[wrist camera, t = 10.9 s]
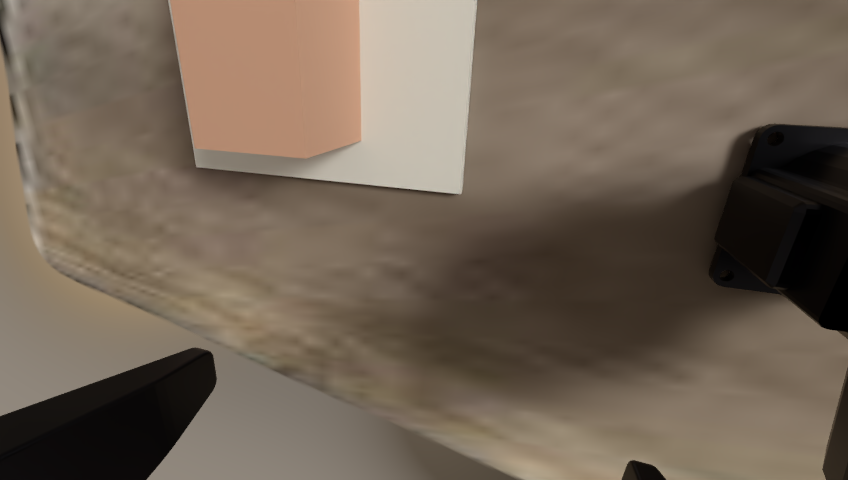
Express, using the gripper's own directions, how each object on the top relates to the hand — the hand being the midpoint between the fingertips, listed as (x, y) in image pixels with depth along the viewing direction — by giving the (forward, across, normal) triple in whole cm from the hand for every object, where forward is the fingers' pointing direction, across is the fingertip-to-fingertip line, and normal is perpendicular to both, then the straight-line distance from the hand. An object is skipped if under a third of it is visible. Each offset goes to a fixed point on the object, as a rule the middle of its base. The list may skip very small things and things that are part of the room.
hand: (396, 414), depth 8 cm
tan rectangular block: (+11, +8, -8) cm, 16 cm away
